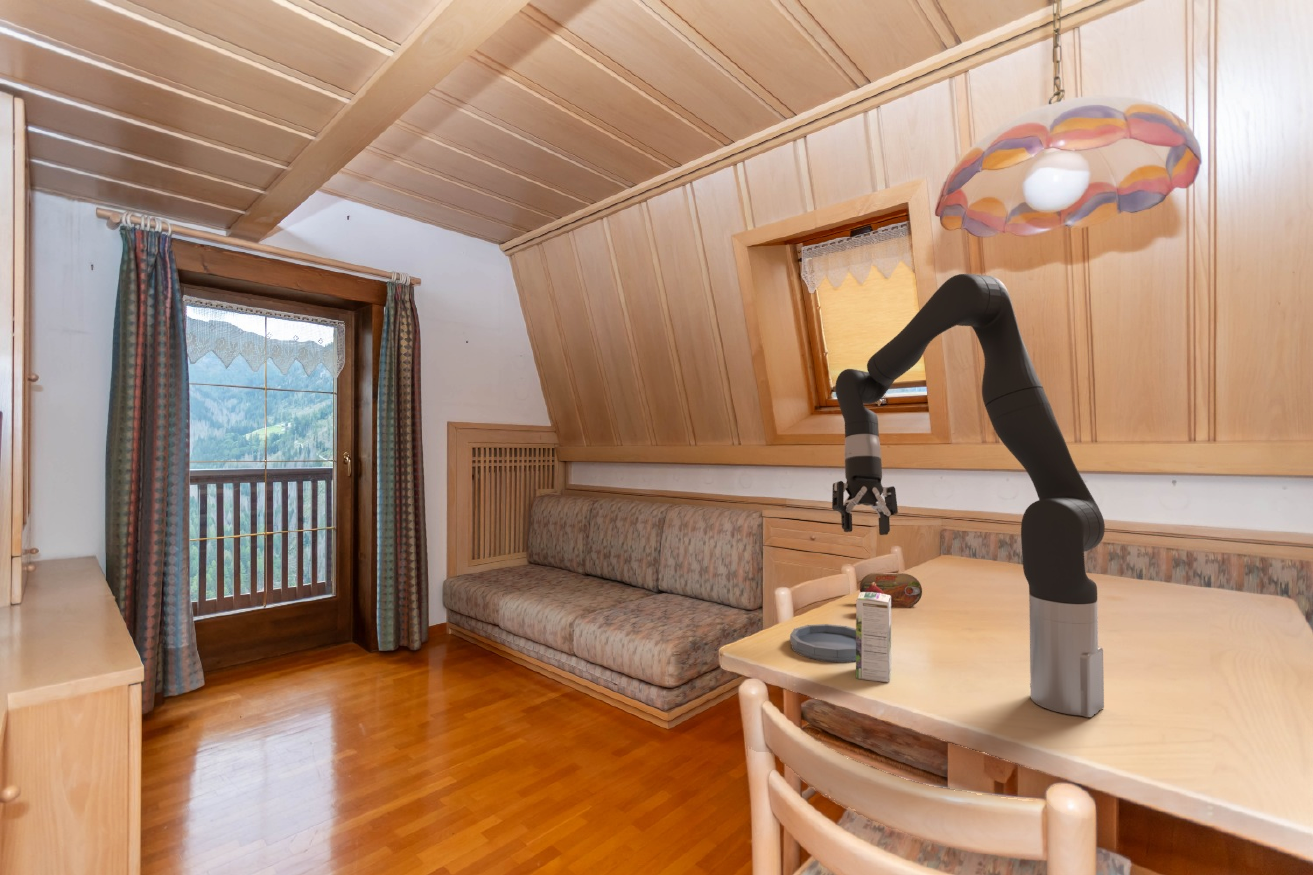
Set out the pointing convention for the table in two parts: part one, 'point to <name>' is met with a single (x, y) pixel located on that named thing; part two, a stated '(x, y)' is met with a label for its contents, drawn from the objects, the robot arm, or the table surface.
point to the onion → (874, 589)
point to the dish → (825, 642)
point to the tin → (895, 587)
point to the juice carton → (873, 636)
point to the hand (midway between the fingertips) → (866, 533)
